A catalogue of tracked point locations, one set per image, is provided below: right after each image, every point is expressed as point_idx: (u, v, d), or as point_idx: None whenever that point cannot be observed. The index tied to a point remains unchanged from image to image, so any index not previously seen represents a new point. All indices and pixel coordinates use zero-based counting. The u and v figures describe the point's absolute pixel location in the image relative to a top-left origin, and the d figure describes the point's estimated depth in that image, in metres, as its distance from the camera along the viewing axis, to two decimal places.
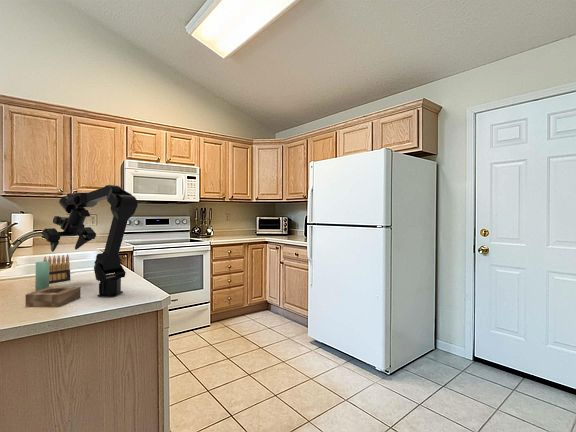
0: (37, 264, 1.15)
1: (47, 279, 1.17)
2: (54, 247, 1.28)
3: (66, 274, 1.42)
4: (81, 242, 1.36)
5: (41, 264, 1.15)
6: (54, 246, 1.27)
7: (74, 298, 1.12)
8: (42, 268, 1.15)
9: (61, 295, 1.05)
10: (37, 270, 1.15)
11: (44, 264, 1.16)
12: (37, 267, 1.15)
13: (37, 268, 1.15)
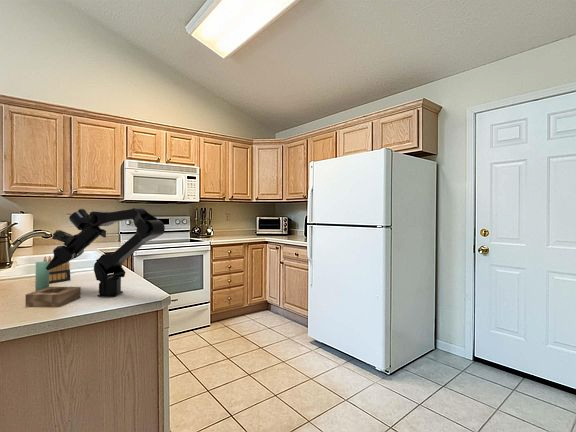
0: (37, 264, 1.15)
1: (47, 279, 1.17)
2: None
3: (66, 274, 1.42)
4: None
5: (41, 264, 1.15)
6: (59, 265, 1.14)
7: (74, 298, 1.12)
8: (42, 268, 1.15)
9: (61, 295, 1.05)
10: (37, 270, 1.15)
11: (44, 264, 1.16)
12: (37, 267, 1.15)
13: (37, 268, 1.15)
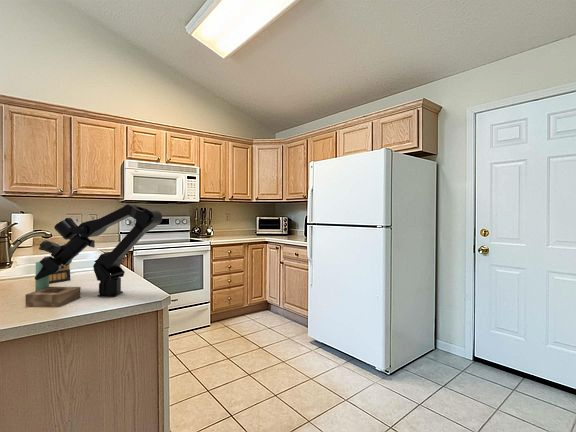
0: (37, 264, 1.15)
1: (47, 279, 1.17)
2: None
3: (66, 274, 1.42)
4: None
5: (41, 264, 1.15)
6: None
7: (74, 298, 1.12)
8: None
9: (61, 295, 1.05)
10: (37, 270, 1.15)
11: None
12: (37, 267, 1.15)
13: (37, 268, 1.15)
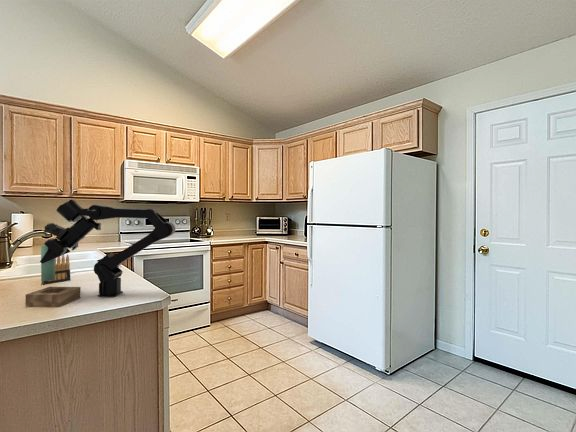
0: (42, 247, 1.12)
1: (53, 263, 1.14)
2: None
3: (66, 274, 1.42)
4: None
5: (46, 247, 1.12)
6: None
7: (74, 298, 1.12)
8: None
9: (61, 295, 1.05)
10: (42, 253, 1.12)
11: None
12: (43, 250, 1.12)
13: (42, 251, 1.12)
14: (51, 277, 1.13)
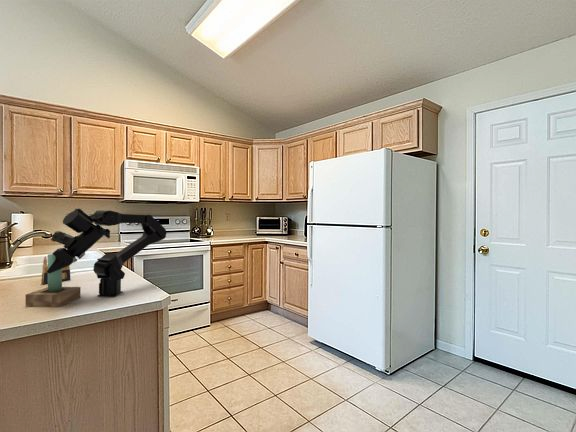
0: (49, 256, 1.07)
1: (60, 272, 1.09)
2: None
3: (66, 274, 1.42)
4: None
5: (53, 256, 1.07)
6: (61, 268, 1.07)
7: (74, 298, 1.12)
8: None
9: (61, 295, 1.05)
10: (49, 263, 1.07)
11: None
12: (50, 260, 1.07)
13: (49, 261, 1.07)
14: (58, 287, 1.09)
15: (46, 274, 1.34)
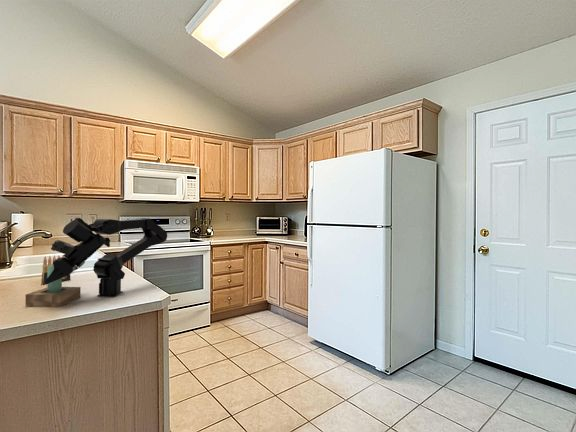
0: (49, 268, 1.07)
1: (60, 284, 1.09)
2: None
3: None
4: None
5: (53, 268, 1.08)
6: (60, 278, 1.06)
7: (74, 298, 1.12)
8: None
9: (61, 295, 1.05)
10: None
11: None
12: (49, 271, 1.07)
13: (49, 273, 1.07)
14: None
15: (46, 274, 1.34)
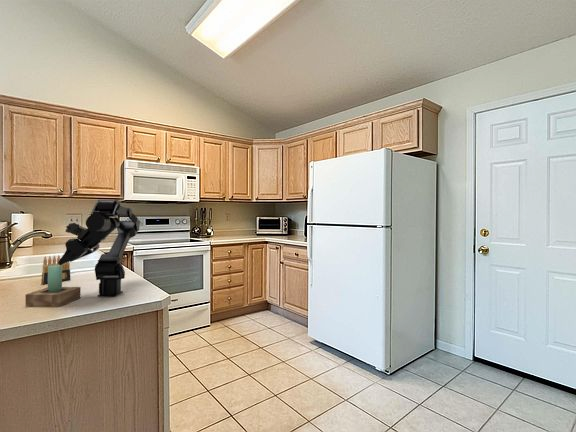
0: (49, 268, 1.07)
1: (60, 284, 1.09)
2: (70, 260, 1.07)
3: (66, 274, 1.42)
4: (83, 254, 1.17)
5: (54, 268, 1.08)
6: (72, 259, 1.07)
7: (74, 298, 1.12)
8: (54, 273, 1.08)
9: (61, 295, 1.05)
10: (49, 275, 1.07)
11: (57, 268, 1.08)
12: (50, 271, 1.07)
13: (49, 273, 1.07)
14: None
15: (46, 274, 1.34)
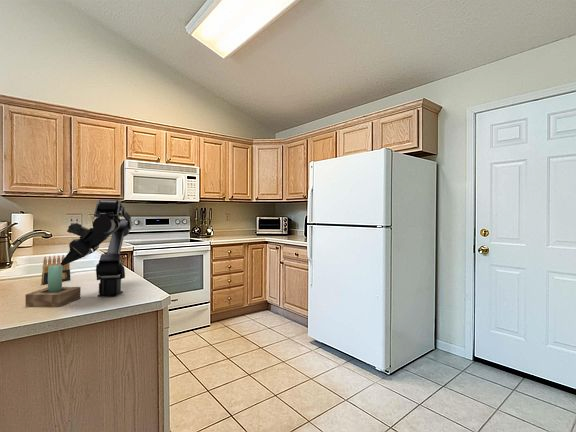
0: (50, 268, 1.07)
1: (60, 284, 1.09)
2: None
3: (66, 274, 1.42)
4: None
5: (54, 268, 1.08)
6: None
7: (74, 298, 1.12)
8: (54, 273, 1.08)
9: (61, 295, 1.05)
10: (50, 275, 1.07)
11: (57, 268, 1.08)
12: (50, 271, 1.07)
13: (50, 272, 1.07)
14: None
15: (46, 274, 1.34)
